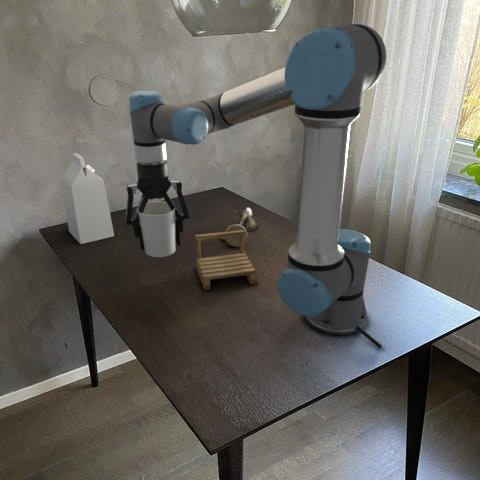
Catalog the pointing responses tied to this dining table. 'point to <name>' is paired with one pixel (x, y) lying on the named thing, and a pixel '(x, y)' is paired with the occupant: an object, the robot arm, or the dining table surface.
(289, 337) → the dining table surface
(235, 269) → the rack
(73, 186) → the milk
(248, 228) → the eagle figurine
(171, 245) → the candle holder
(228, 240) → the mug
